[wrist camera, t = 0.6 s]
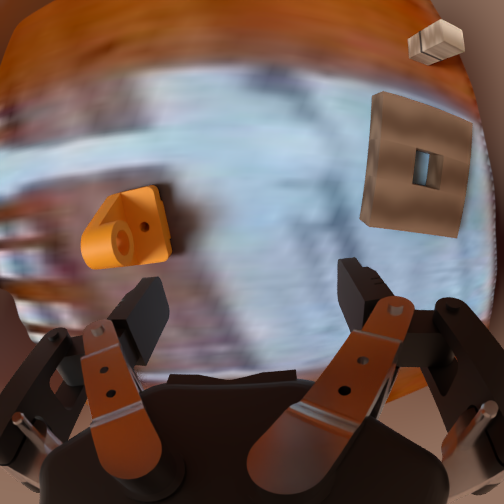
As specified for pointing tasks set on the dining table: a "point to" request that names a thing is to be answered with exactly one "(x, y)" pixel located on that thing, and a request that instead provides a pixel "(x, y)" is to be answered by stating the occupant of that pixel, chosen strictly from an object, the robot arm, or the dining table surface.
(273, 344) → the dining table surface
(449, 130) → the board
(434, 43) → the peg
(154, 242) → the bracket
